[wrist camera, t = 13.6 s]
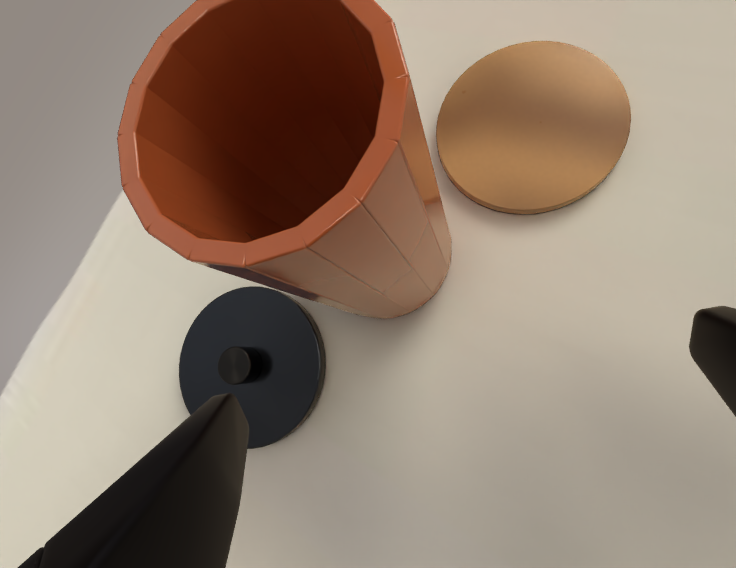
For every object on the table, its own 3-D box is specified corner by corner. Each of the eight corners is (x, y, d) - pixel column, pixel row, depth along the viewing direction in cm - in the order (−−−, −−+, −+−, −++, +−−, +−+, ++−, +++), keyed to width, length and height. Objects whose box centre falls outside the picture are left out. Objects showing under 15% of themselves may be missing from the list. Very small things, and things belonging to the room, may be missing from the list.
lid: (324, 450, 19) (309, 459, 18) (182, 442, 22) (156, 449, 20) (327, 284, 21) (313, 278, 19) (192, 291, 23) (169, 286, 21)
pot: (480, 262, 19) (481, 107, 7) (369, 346, 20) (200, 333, 8) (397, 163, 21) (289, -88, 9) (298, 243, 22) (77, 108, 10)
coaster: (636, 205, 18) (642, 200, 17) (440, 222, 20) (438, 218, 19) (616, 33, 19) (620, 23, 19) (434, 66, 21) (433, 58, 21)
